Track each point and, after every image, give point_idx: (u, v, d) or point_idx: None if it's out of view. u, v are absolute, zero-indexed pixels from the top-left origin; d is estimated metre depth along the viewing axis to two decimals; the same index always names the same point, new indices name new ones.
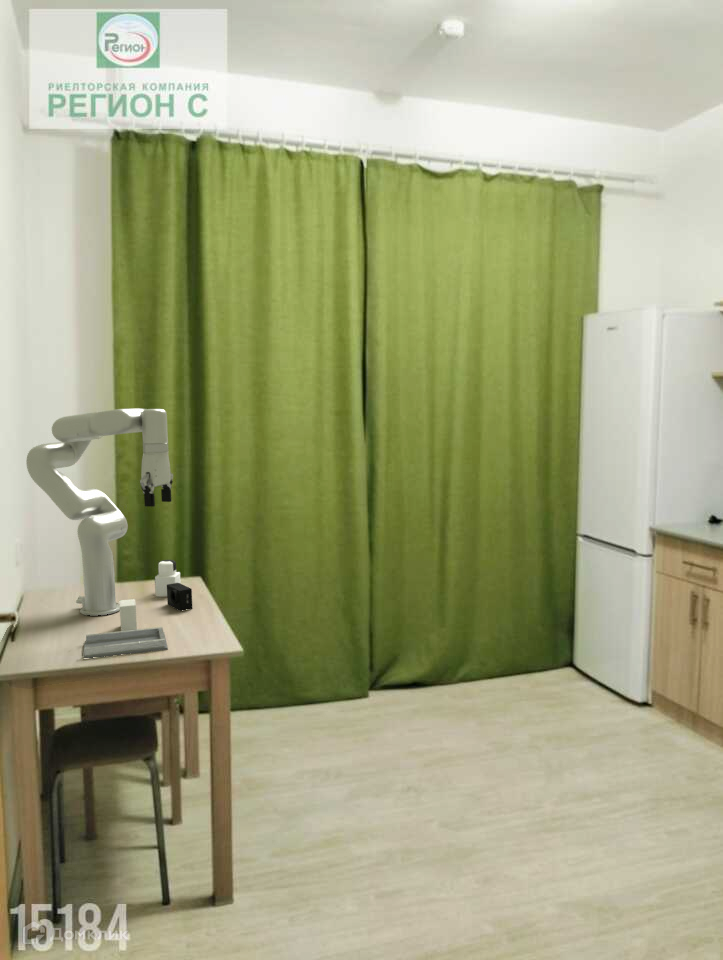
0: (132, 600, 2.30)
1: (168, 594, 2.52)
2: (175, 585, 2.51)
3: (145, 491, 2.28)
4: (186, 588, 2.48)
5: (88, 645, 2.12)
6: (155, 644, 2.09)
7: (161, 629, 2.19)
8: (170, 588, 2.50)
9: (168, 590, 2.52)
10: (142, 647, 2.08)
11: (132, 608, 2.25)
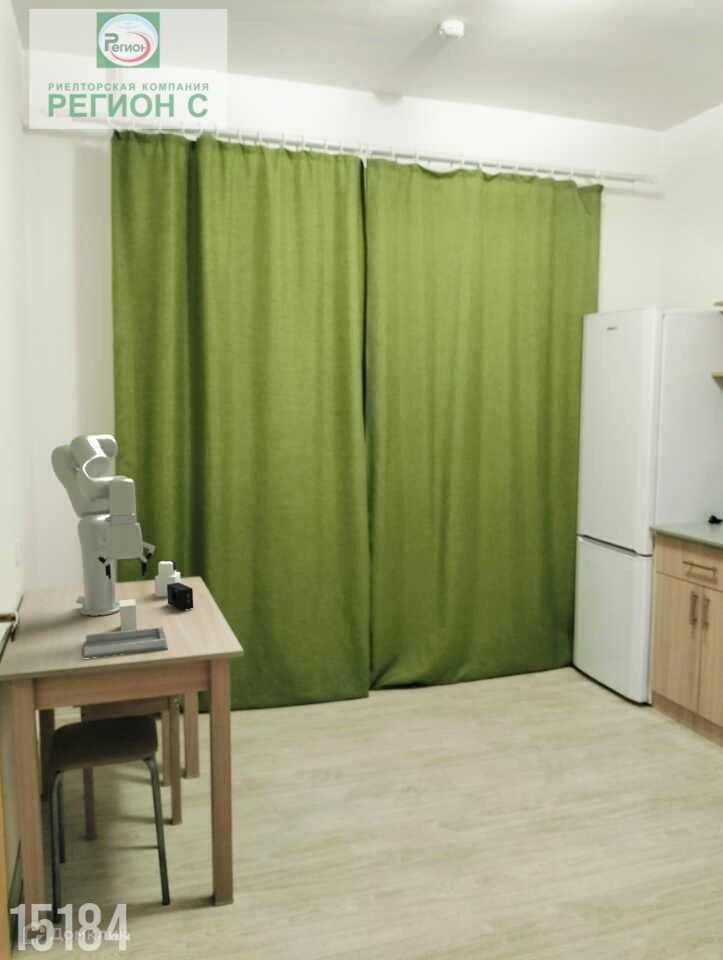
0: (132, 600, 2.30)
1: (169, 593, 2.52)
2: (176, 585, 2.52)
3: (148, 558, 2.28)
4: (187, 588, 2.48)
5: (88, 645, 2.12)
6: (155, 644, 2.09)
7: (161, 629, 2.19)
8: (171, 588, 2.51)
9: (169, 589, 2.52)
10: (142, 647, 2.08)
11: (132, 608, 2.25)
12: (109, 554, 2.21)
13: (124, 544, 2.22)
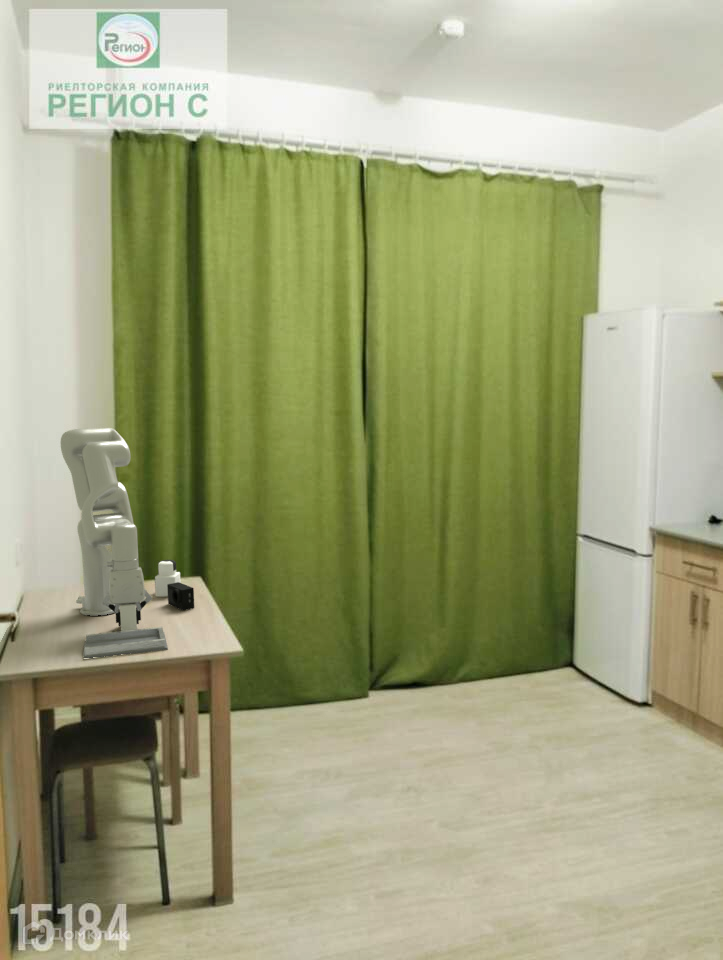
0: None
1: (169, 593, 2.52)
2: (176, 584, 2.52)
3: None
4: (188, 587, 2.48)
5: (88, 645, 2.12)
6: (155, 644, 2.09)
7: (161, 629, 2.19)
8: (171, 588, 2.51)
9: (169, 589, 2.52)
10: (142, 647, 2.08)
11: (132, 608, 2.25)
12: (111, 599, 2.23)
13: (126, 589, 2.24)
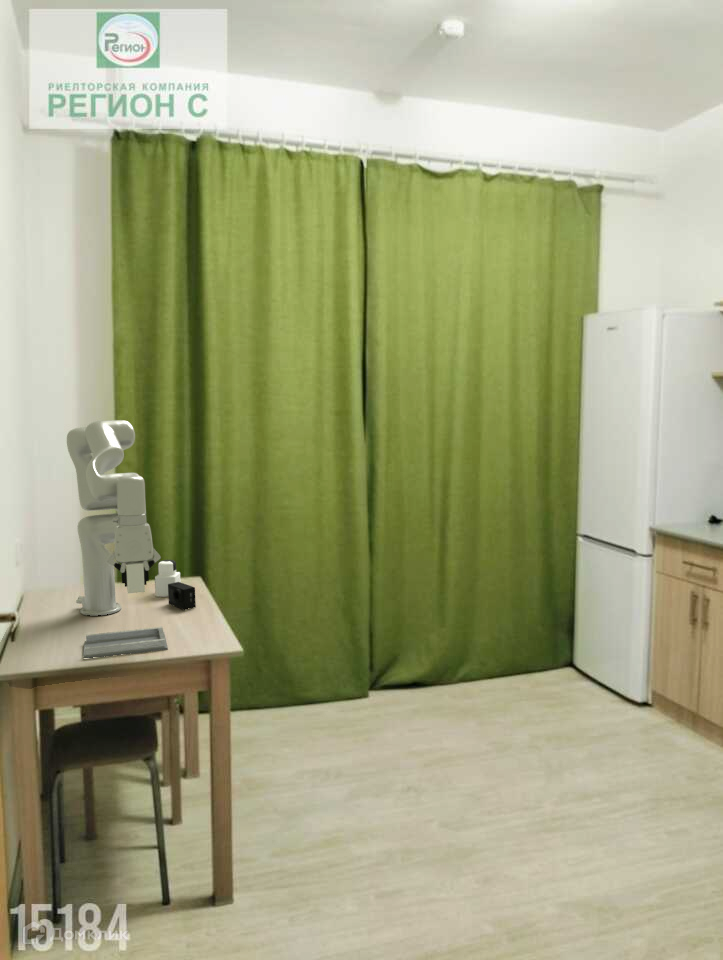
0: None
1: (170, 593, 2.53)
2: (177, 584, 2.52)
3: (150, 566, 2.12)
4: (189, 587, 2.49)
5: (88, 645, 2.12)
6: (155, 644, 2.09)
7: (161, 629, 2.19)
8: (172, 587, 2.51)
9: (170, 589, 2.52)
10: (142, 647, 2.08)
11: (139, 567, 2.08)
12: (117, 557, 2.07)
13: (133, 547, 2.08)
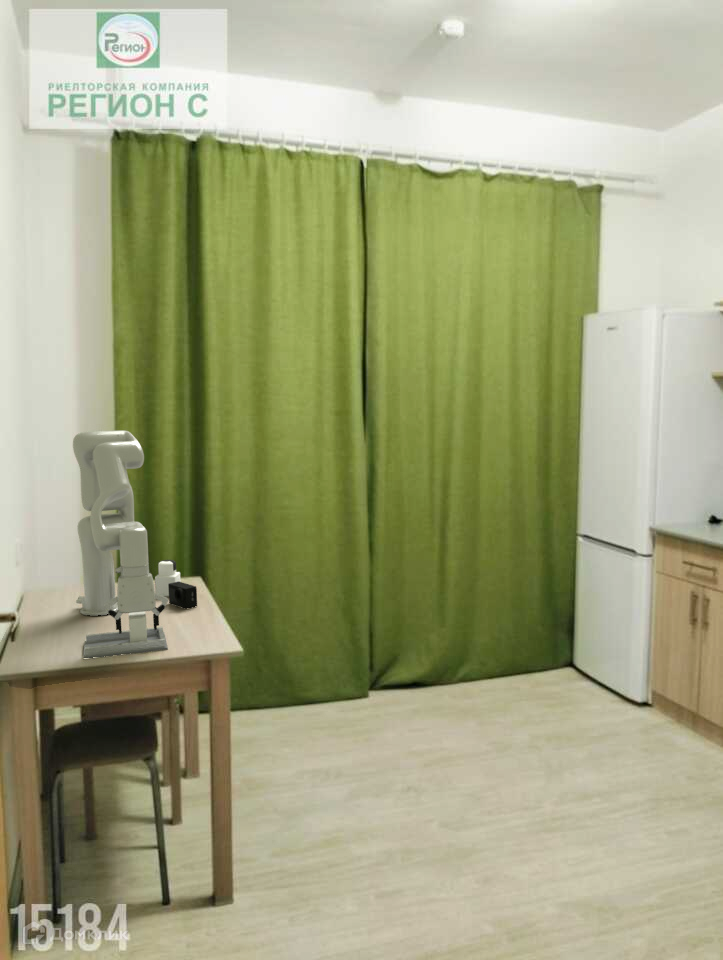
0: (142, 612, 2.15)
1: (170, 593, 2.53)
2: (177, 584, 2.53)
3: None
4: (191, 586, 2.50)
5: (88, 645, 2.12)
6: (155, 644, 2.09)
7: (161, 629, 2.19)
8: (173, 587, 2.52)
9: (171, 589, 2.53)
10: (142, 647, 2.08)
11: (142, 621, 2.10)
12: (120, 608, 2.08)
13: (135, 597, 2.09)
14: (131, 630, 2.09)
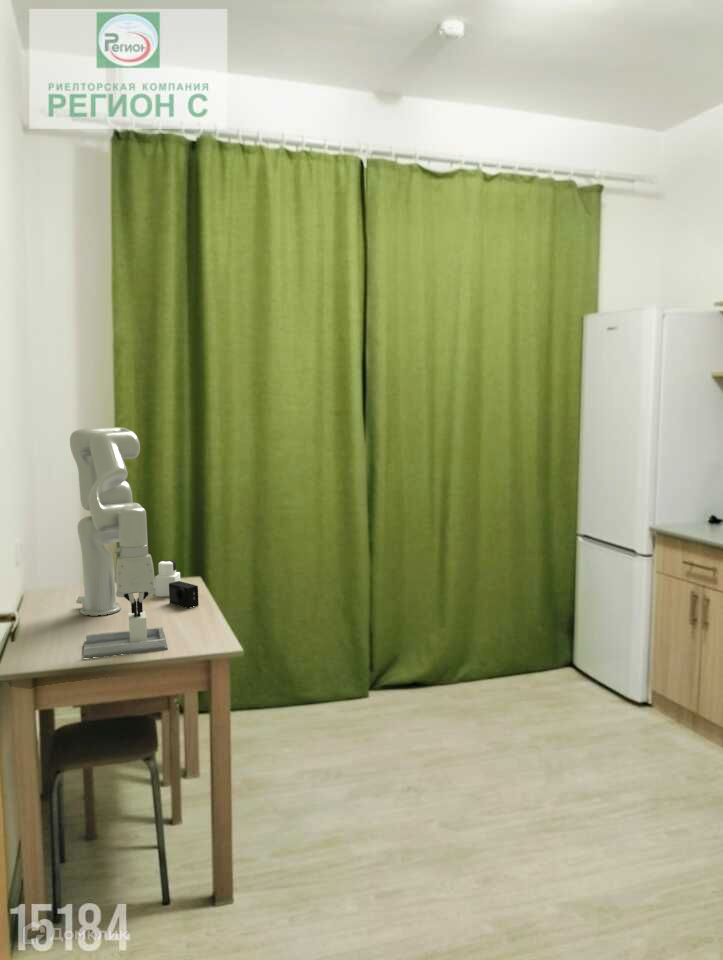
0: (142, 612, 2.15)
1: (171, 592, 2.54)
2: (178, 583, 2.54)
3: None
4: (192, 585, 2.51)
5: (88, 645, 2.12)
6: (155, 644, 2.09)
7: (161, 629, 2.19)
8: (174, 586, 2.52)
9: (171, 588, 2.53)
10: (142, 647, 2.08)
11: (142, 621, 2.10)
12: (119, 588, 2.08)
13: (134, 578, 2.08)
14: (131, 630, 2.09)
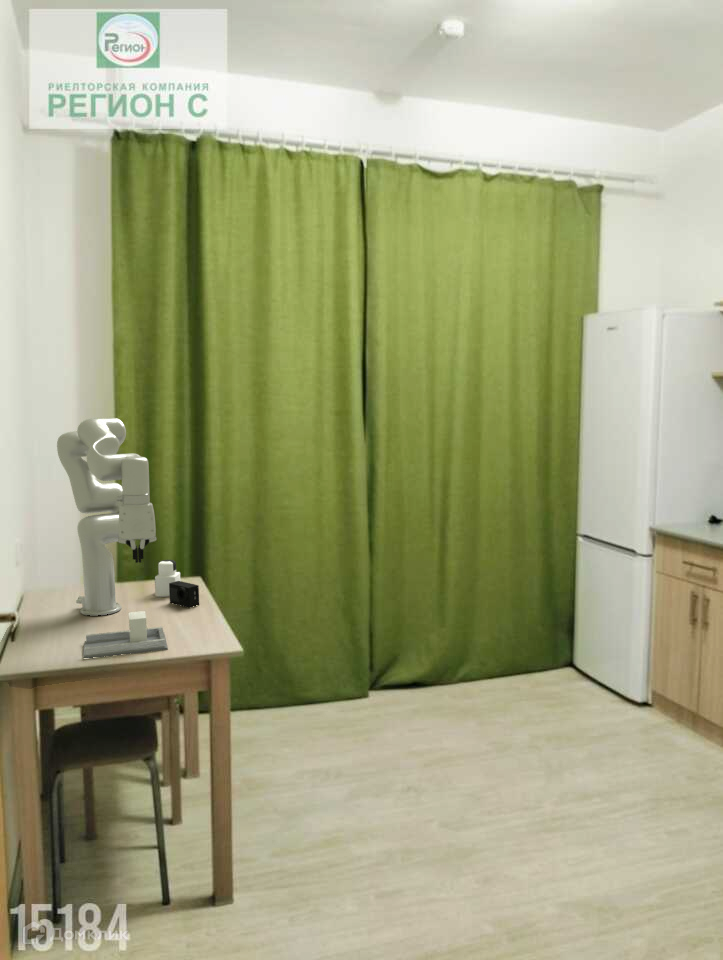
0: (142, 612, 2.15)
1: (171, 592, 2.54)
2: (179, 583, 2.54)
3: (145, 545, 2.20)
4: (193, 585, 2.51)
5: (88, 645, 2.12)
6: (155, 644, 2.09)
7: (161, 629, 2.19)
8: (174, 586, 2.53)
9: (172, 588, 2.54)
10: (142, 647, 2.08)
11: (142, 621, 2.10)
12: (121, 535, 2.15)
13: (136, 525, 2.16)
14: (131, 630, 2.09)
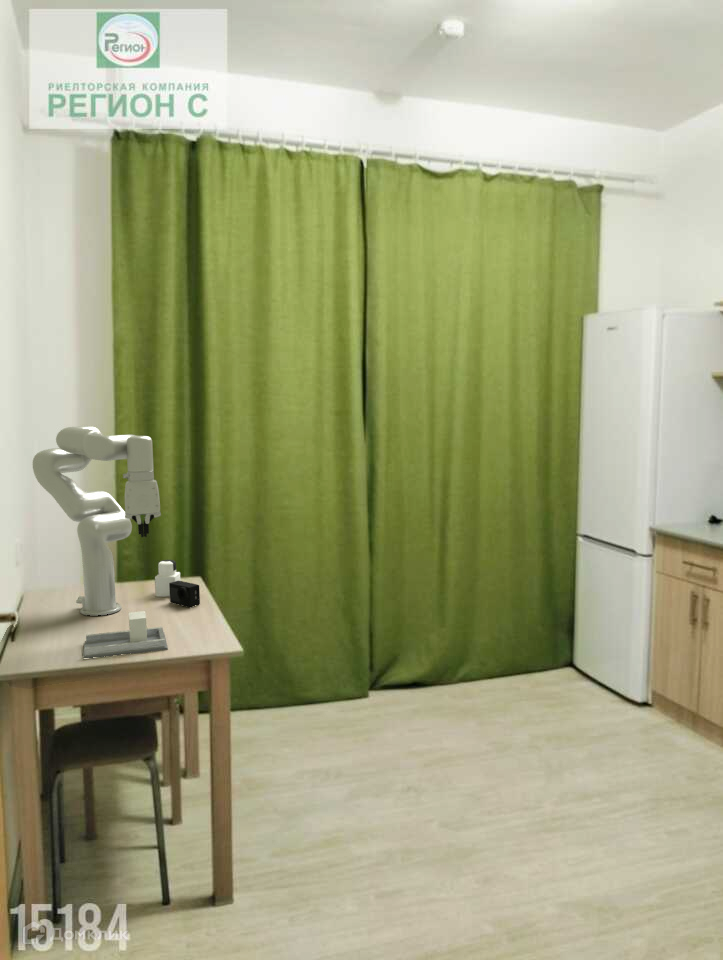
0: (142, 612, 2.15)
1: (172, 592, 2.54)
2: (179, 583, 2.54)
3: (150, 520, 2.31)
4: (193, 584, 2.52)
5: (88, 645, 2.12)
6: (155, 644, 2.09)
7: (161, 629, 2.19)
8: (175, 586, 2.53)
9: (172, 588, 2.54)
10: (142, 647, 2.08)
11: (142, 621, 2.10)
12: (127, 510, 2.26)
13: (141, 500, 2.27)
14: (131, 630, 2.09)
